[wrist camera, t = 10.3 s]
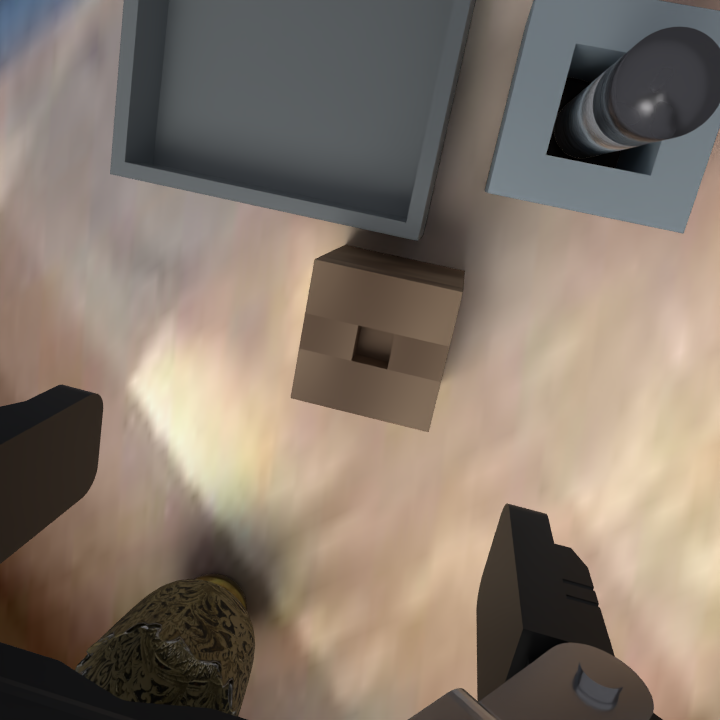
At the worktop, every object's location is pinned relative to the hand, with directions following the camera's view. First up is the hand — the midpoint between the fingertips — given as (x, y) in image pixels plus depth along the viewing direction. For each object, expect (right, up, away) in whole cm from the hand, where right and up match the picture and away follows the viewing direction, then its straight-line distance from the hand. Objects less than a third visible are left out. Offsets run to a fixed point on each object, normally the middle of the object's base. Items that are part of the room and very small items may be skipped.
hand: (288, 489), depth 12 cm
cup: (-6, -10, +23) cm, 26 cm away
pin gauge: (+10, +12, +14) cm, 21 cm away
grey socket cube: (+10, +12, +14) cm, 21 cm away
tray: (-1, +16, +15) cm, 22 cm away
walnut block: (+3, +5, +17) cm, 18 cm away
